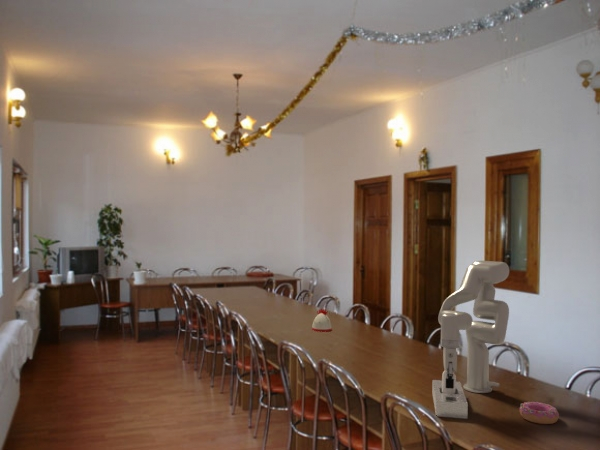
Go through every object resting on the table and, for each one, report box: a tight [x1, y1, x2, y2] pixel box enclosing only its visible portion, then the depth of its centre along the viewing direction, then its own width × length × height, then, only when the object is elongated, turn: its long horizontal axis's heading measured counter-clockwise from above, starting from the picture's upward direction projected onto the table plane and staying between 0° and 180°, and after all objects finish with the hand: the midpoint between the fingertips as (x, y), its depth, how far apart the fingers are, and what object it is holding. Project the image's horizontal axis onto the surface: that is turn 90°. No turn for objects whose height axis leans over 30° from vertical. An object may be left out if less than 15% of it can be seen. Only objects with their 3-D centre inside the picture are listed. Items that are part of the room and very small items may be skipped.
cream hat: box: [311, 308, 333, 333], centre depth 386 cm, size 14×14×15 cm
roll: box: [441, 370, 457, 394], centre depth 230 cm, size 6×12×6 cm
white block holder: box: [431, 379, 469, 420], centre depth 230 cm, size 12×30×6 cm, turn 169°
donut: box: [519, 401, 560, 425], centre depth 216 cm, size 14×14×5 cm
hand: (448, 385), depth 230 cm, fingers closed on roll, 5 cm apart
